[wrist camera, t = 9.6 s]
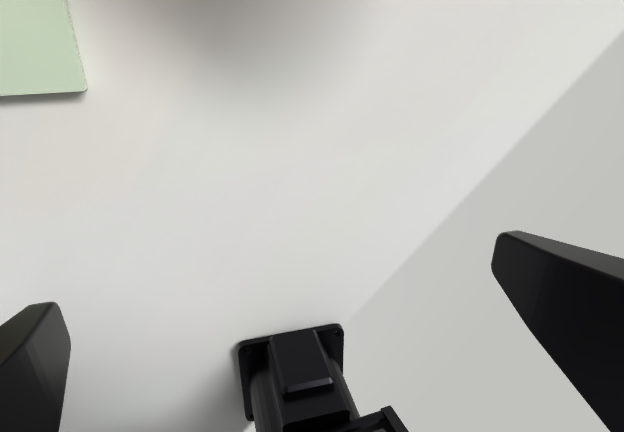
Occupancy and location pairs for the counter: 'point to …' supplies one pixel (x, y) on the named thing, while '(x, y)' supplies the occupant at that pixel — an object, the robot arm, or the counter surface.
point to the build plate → (38, 48)
